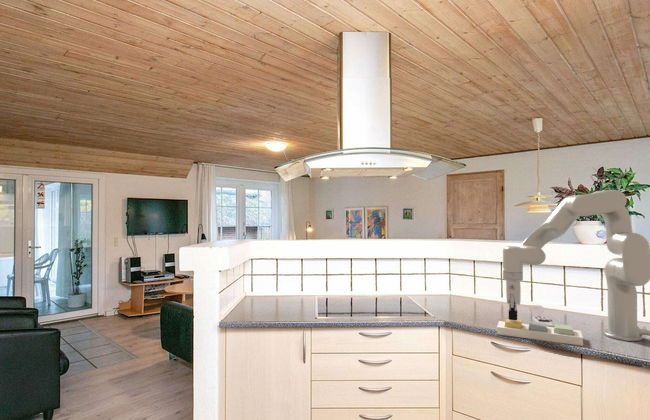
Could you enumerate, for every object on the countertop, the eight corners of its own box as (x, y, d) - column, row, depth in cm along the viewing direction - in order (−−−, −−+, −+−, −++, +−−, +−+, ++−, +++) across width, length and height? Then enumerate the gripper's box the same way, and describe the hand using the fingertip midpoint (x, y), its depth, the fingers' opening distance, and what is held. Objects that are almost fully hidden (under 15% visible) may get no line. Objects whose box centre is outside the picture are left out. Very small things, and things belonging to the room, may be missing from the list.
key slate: (546, 329, 160) (546, 322, 160) (546, 333, 155) (546, 326, 155) (529, 327, 163) (529, 321, 163) (529, 330, 158) (529, 324, 158)
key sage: (572, 332, 156) (572, 325, 156) (573, 336, 150) (573, 330, 150) (554, 330, 158) (554, 323, 158) (555, 334, 153) (555, 327, 153)
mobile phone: (541, 305, 187) (555, 318, 163) (542, 317, 187) (556, 332, 163) (527, 304, 189) (539, 318, 165) (528, 316, 189) (540, 332, 165)
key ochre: (521, 326, 164) (521, 320, 164) (521, 329, 159) (521, 323, 159) (506, 324, 167) (506, 318, 167) (505, 327, 162) (505, 321, 162)
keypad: (580, 338, 156) (580, 330, 156) (583, 345, 147) (583, 337, 147) (499, 327, 170) (499, 320, 170) (496, 334, 162) (496, 327, 162)
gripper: (522, 279, 155) (522, 325, 155) (523, 274, 168) (523, 316, 168) (501, 277, 158) (501, 322, 158) (504, 272, 171) (504, 314, 171)
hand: (512, 319), depth 163 cm, fingers closed
